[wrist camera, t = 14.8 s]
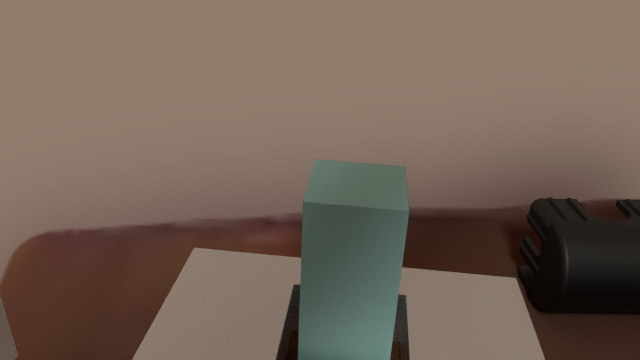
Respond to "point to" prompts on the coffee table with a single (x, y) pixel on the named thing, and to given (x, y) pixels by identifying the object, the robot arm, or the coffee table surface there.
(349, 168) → the teal post
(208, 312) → the grey rectangular frame
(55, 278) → the coffee table surface
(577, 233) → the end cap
